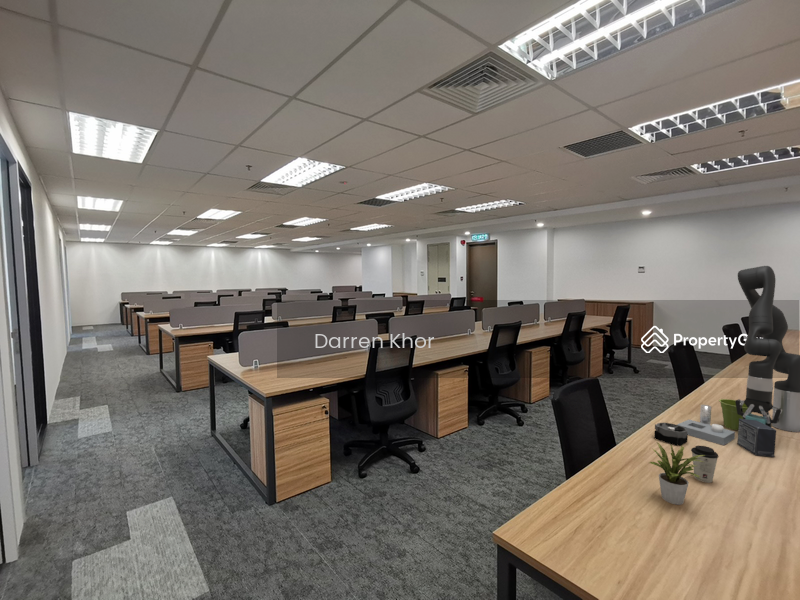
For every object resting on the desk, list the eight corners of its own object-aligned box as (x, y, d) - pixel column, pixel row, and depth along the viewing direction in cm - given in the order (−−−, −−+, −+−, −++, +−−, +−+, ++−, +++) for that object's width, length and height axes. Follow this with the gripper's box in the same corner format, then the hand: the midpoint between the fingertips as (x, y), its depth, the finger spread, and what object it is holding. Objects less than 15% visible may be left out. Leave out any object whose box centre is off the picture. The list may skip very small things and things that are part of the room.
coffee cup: (710, 486, 117) (712, 455, 117) (685, 476, 123) (686, 446, 123) (721, 481, 121) (723, 451, 120) (696, 471, 127) (697, 442, 126)
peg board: (688, 426, 168) (689, 414, 167) (734, 438, 154) (735, 425, 154) (676, 431, 161) (677, 419, 161) (723, 445, 148) (724, 432, 147)
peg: (701, 426, 167) (702, 404, 167) (711, 429, 164) (712, 406, 164) (698, 427, 165) (699, 405, 165) (708, 430, 162) (709, 407, 162)
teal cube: (744, 430, 152) (745, 416, 152) (749, 427, 155) (750, 413, 155) (763, 435, 148) (764, 420, 147) (768, 432, 150) (769, 418, 150)
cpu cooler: (691, 428, 151) (682, 433, 145) (690, 441, 151) (681, 448, 145) (661, 420, 159) (651, 425, 153) (660, 433, 159) (651, 439, 153)
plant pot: (751, 436, 157) (753, 409, 157) (715, 427, 166) (716, 402, 166) (755, 429, 165) (756, 403, 164) (720, 421, 174) (721, 397, 173)
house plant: (710, 524, 99) (713, 463, 98) (647, 506, 106) (649, 450, 106) (701, 497, 111) (704, 443, 110) (646, 484, 118) (648, 433, 118)
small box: (776, 458, 138) (778, 429, 137) (755, 456, 139) (757, 428, 138) (755, 445, 148) (756, 419, 147) (736, 444, 149) (737, 418, 149)
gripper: (732, 384, 155) (730, 425, 155) (781, 394, 142) (778, 437, 143) (739, 382, 159) (736, 421, 159) (787, 391, 146) (784, 433, 147)
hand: (756, 429), depth 151 cm, fingers closed on teal cube, 5 cm apart
